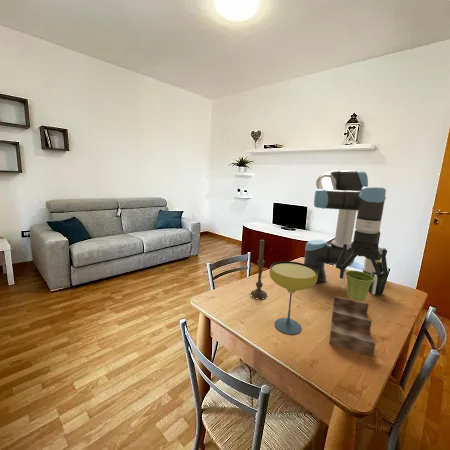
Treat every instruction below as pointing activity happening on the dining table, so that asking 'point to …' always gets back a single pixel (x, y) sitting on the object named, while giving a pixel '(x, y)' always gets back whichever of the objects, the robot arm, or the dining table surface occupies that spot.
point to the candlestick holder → (258, 292)
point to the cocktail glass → (292, 288)
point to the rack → (351, 326)
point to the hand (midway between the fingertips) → (357, 289)
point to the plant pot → (358, 284)
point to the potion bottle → (381, 287)
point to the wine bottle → (368, 264)
